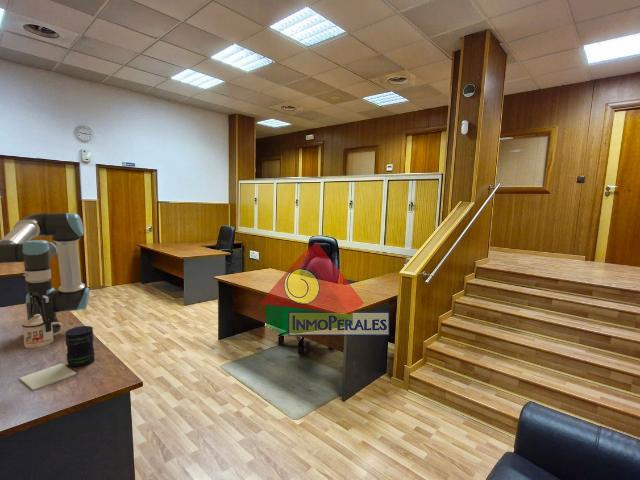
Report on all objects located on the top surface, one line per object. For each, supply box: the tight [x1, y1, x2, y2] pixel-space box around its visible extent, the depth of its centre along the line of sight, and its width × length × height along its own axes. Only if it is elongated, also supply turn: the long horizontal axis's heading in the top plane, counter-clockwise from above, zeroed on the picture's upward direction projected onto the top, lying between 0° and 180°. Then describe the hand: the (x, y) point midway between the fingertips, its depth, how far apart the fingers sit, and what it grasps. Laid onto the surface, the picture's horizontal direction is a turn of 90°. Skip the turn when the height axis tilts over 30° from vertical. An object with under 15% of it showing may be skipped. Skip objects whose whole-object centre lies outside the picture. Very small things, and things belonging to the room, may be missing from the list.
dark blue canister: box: [65, 325, 96, 369], centre depth 143 cm, size 10×10×15 cm
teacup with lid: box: [21, 314, 63, 349], centre depth 128 cm, size 12×9×12 cm
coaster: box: [19, 363, 77, 391], centre depth 132 cm, size 14×14×1 cm
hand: (43, 336), depth 128 cm, fingers closed on teacup with lid, 9 cm apart
